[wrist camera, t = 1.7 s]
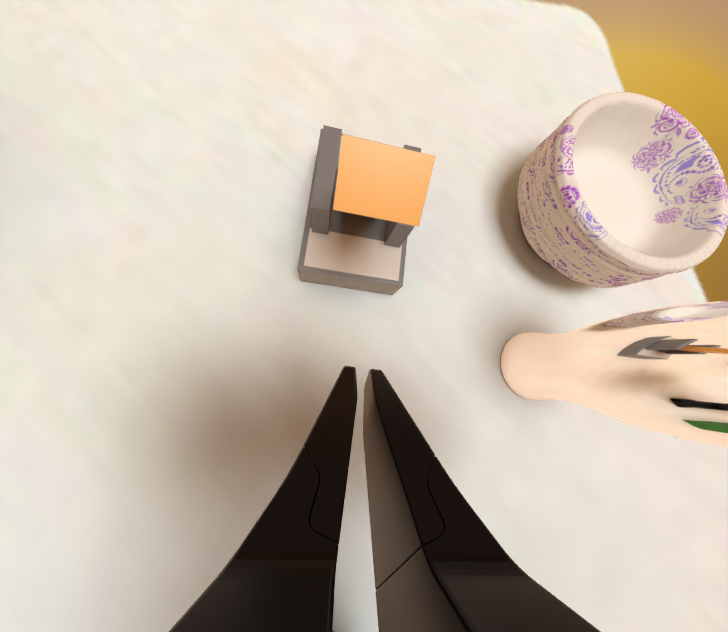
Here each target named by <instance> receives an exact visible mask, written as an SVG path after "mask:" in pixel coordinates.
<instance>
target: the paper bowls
mask: <svg viewBox="0 0 728 632" xmlns="http://www.w3.org/2000/svg"><path fill="white" fill-rule="evenodd" d="M517 190H518V191H517V194H518V196H517V198H518V207H519V213H520V219H521V225H522V229H523V232H524V235H525V237H526V239H527V241H528V243H529V244H530V246H531V247H532V248H533V250H534V251H535V252H536V253H537V254H538V255H539V256H540V257H541V258H542V259H544V260H545V261H546V262H548V263H549V264H551V266H552V267H554V268H555V269H556V270H557V271H558V272H560V273H562V274H563V275H565V276H566V277H568V278H570V279H571V280H574V281H577V282H580V283H582V284H585V285H588V286H594V287H601V288H614V287H620V286H623V285H629V284H632V283H637V282H641V281H644V280H651V279H654V278H657V277H661V276H664V275H666V274H672V273H678V272H682V271H685V270H687V269H690V268H692V267H694V266H696V265H698V264H699V263H701V262H702V261H704V260H705V259H706V258H708V257H709V256H710V255H711V254H712V253H713V252H714V251H715V250H716V248H717V247H718V245H719V244H720V242H721V240H722V238H723V236H724V234H725V231H726V228H727V224H728V189H727V184H726V181H725V178H724V175H723V172H722V169H721V167H720V165H719V162H718V160H717V158H716V156H715V155H714V153H713V151H712V149H711V148H710V146H709V145H708V143H707V141H706V140H705V139H704V138H703V136H702V135H701V134H700V133H699V132H698V130H697V129H696V128H695V127H694V126H693V125H692V124H691V123H690V122H689V121H688V120H686V118H685V117H683V116H682V115H681V114H680V113H678V112H677V111H676V110H674V109H673V108H671V107H669V106H667V105H666V104H664V103H662V102H660V101H658V100H656V99H652V98H649V97H646V96H643V95H640V94H634V93H628V92H616V93H608V94H604V95H600V96H598V97H595V98H592V99H591V100H588V101H586V102H585V103H583V104H582V105H580V106H579V107H578V108H577V109H575V110H574V111H573V113H572V114H571V115H570V116H569V117H567V118H566V119H565V120H564V121H563V122H562V124H561V125H560V126H559V127H558V128H557V129H556V130H555V131H554V132H553V133H552V134H551V135H550V136H549V137H547V138H546V139H545V140H544V141H543V142H542V143H541V144H540V145H539V146H538V147H537V148H536V149H535V150H534V151H533V152H532V153H531V154H530V155H529V157H528V159H527V160H526V162H525V164H524V166H523V168H522V170H521V173H520V177H519V184H518V188H517Z"/></svg>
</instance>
